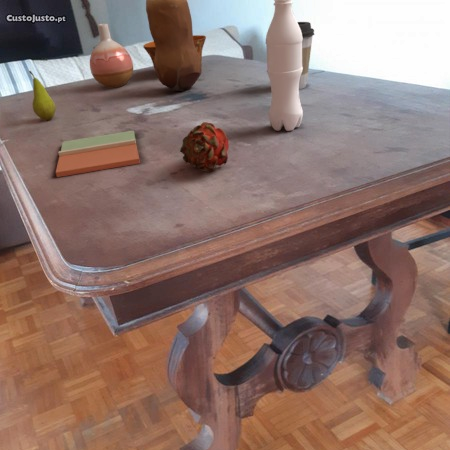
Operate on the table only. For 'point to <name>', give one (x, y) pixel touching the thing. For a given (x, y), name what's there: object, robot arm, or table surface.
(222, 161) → the dragon fruit
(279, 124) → the water bottle
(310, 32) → the coffee cup
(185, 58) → the butternut squash
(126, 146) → the sorting board
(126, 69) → the vase
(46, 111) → the fruit
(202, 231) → the table surface
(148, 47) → the bowl
